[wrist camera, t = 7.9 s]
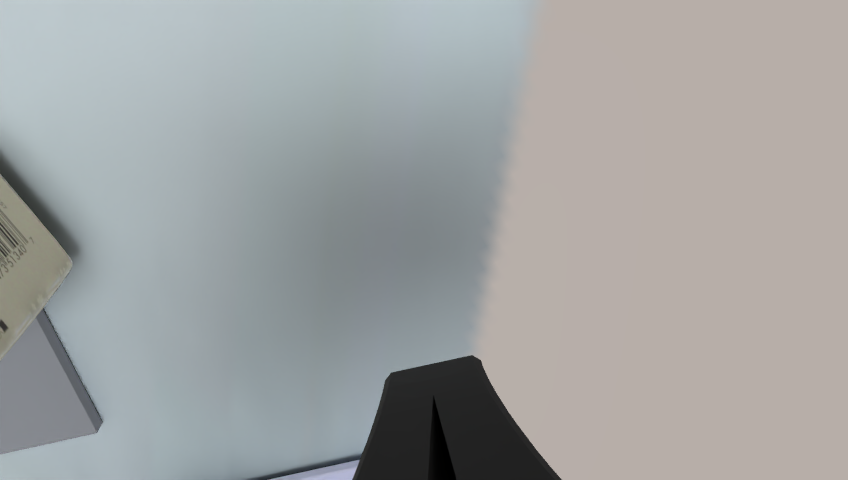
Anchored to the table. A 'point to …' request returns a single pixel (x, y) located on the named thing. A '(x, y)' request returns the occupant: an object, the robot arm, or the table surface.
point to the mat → (41, 392)
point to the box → (25, 266)
